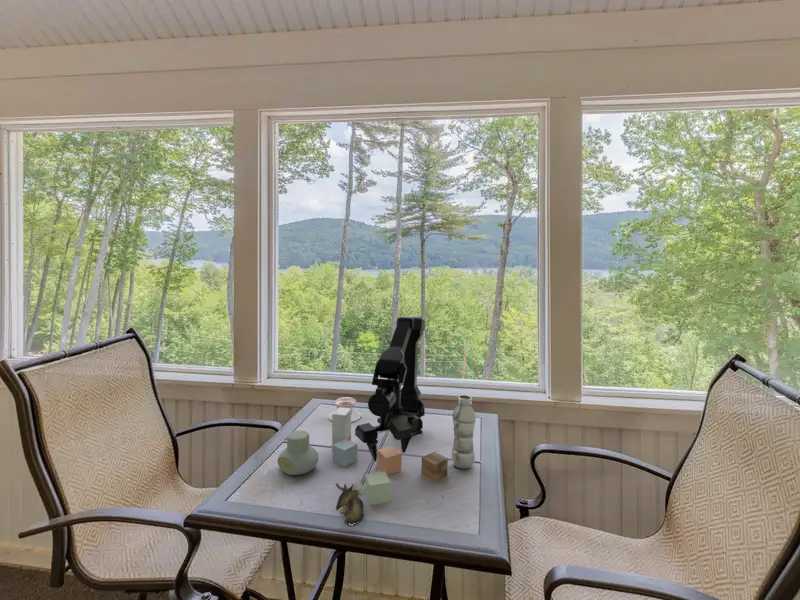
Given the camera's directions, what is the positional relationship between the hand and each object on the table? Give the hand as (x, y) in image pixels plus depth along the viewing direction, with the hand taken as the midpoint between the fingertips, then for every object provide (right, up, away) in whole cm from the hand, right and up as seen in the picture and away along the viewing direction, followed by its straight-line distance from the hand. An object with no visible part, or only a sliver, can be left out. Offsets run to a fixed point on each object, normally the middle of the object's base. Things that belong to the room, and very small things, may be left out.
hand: (389, 456), depth 107 cm
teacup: (-17, 0, +35) cm, 39 cm away
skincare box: (-15, -2, +11) cm, 19 cm away
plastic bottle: (+21, -4, +3) cm, 21 cm away
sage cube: (-3, -5, -13) cm, 14 cm away
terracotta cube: (0, -4, 0) cm, 4 cm away
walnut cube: (+12, -4, -3) cm, 13 cm away
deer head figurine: (-9, -5, -19) cm, 21 cm away
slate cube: (-13, -3, +4) cm, 14 cm away
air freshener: (-25, -3, -1) cm, 25 cm away
